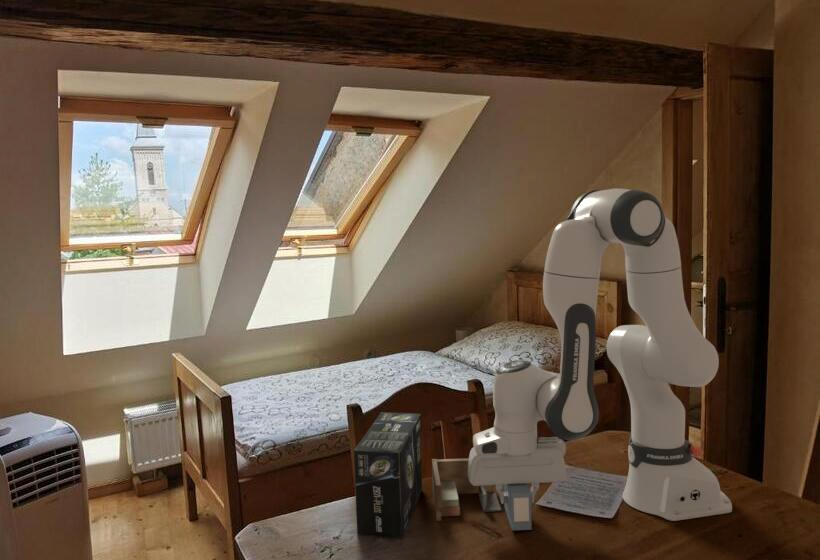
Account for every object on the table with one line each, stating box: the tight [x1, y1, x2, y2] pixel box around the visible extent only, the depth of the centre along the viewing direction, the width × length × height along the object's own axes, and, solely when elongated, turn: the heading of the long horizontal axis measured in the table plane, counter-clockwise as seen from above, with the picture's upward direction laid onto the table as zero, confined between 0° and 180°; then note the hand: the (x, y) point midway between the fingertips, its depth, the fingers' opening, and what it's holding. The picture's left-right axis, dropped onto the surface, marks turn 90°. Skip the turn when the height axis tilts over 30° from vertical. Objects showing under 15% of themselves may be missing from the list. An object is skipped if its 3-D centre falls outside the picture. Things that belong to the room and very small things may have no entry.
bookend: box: [478, 485, 502, 513], centre depth 146 cm, size 4×8×4 cm, turn 2°
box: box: [353, 412, 423, 539], centre depth 142 cm, size 23×10×19 cm, turn 168°
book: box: [503, 483, 532, 532], centre depth 137 cm, size 4×10×8 cm, turn 0°
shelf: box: [431, 457, 494, 522], centre depth 145 cm, size 14×14×8 cm
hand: (517, 501), depth 137 cm, fingers closed on book, 4 cm apart
